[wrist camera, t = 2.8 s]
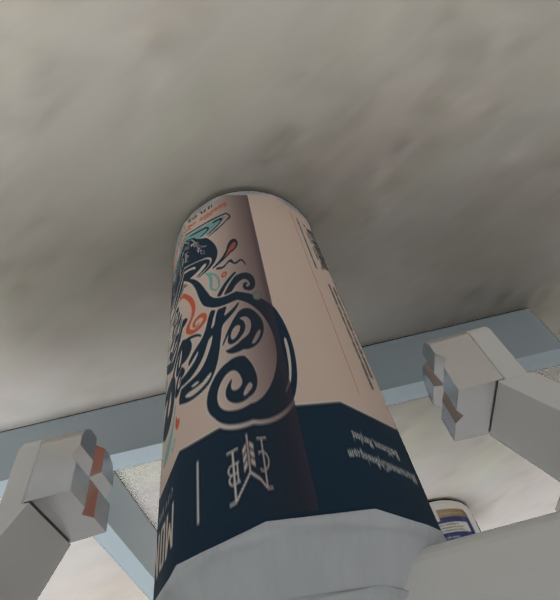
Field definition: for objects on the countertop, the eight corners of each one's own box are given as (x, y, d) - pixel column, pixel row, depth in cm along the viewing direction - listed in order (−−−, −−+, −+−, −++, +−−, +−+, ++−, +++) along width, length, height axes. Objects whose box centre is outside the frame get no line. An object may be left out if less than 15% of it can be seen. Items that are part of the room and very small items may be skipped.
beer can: (196, 164, 14) (204, 597, 5) (334, 207, 16) (553, 596, 6) (160, 289, 17) (116, 739, 7) (282, 315, 18) (381, 712, 9)
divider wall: (528, 308, 20) (565, 347, 18) (493, 481, 28) (515, 521, 26) (-19, 437, 20) (-42, 491, 18) (111, 573, 28) (105, 620, 26)
